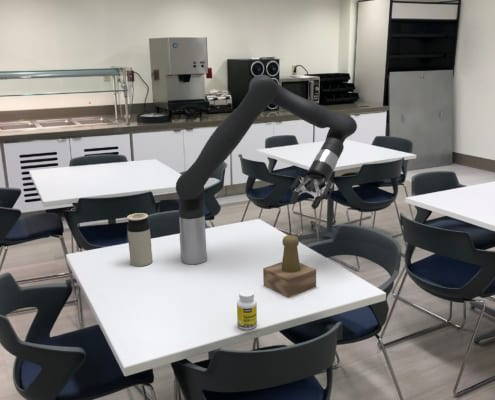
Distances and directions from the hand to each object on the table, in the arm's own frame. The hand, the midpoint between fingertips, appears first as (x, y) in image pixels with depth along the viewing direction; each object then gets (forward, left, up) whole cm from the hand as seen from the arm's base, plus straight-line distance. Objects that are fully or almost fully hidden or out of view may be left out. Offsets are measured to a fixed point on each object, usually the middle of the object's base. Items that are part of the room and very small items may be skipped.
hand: (302, 205), depth 168 cm
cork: (+5, -10, -18) cm, 21 cm away
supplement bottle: (+16, -36, -24) cm, 46 cm away
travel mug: (-46, -37, -24) cm, 64 cm away
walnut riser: (+5, -10, -24) cm, 27 cm away
